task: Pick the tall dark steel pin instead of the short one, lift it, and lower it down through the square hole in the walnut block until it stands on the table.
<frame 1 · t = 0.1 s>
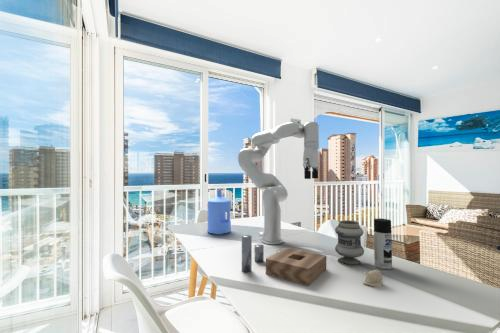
hand: (311, 178, 134), 37 cm above the table, tool pointing down, fingers open, 9 cm apart
apothecary jar: (349, 262, 114), on the table
hole block: (296, 271, 103), on the table
decorative ornament: (372, 285, 92), on the table
spray can: (383, 267, 109), on the table
water jug: (219, 232, 171), on the table
tall pin: (246, 270, 104), on the table
short pin: (259, 261, 115), on the table
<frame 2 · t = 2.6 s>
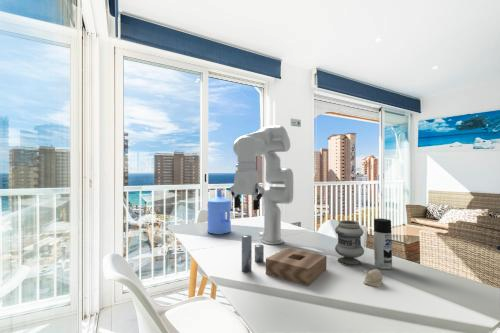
hand: (246, 208, 105), 25 cm above the table, tool pointing down, fingers open, 9 cm apart
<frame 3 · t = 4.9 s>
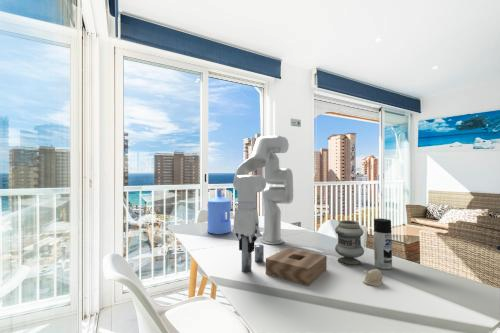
hand: (246, 250, 104), 8 cm above the table, tool pointing down, fingers closed on tall pin, 4 cm apart
tall pin: (246, 270, 104), on the table, touching gripper
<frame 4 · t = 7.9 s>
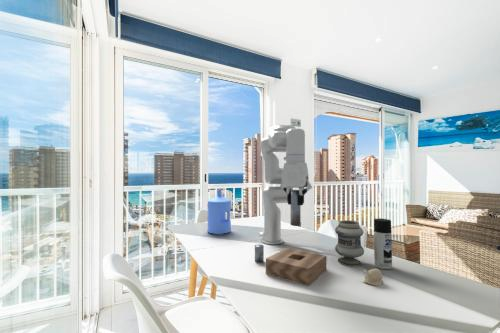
hand: (295, 204, 104), 27 cm above the table, tool pointing down, fingers closed on tall pin, 4 cm apart
tall pin: (295, 224, 103), point 19 cm above the table, touching gripper
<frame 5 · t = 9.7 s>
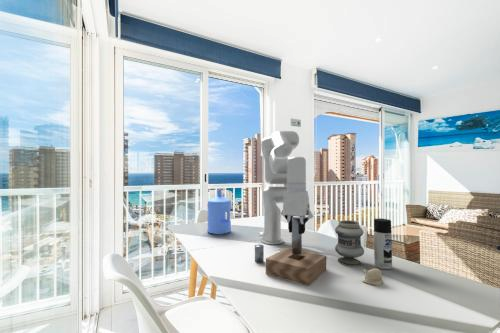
hand: (296, 232, 103), 16 cm above the table, tool pointing down, fingers closed on tall pin, 4 cm apart
tall pin: (296, 253, 103), point 8 cm above the table, touching gripper
when the fingers open (10 cm above the table, at t = 11.3 s): tall pin drops 1 cm, resting in hole block.
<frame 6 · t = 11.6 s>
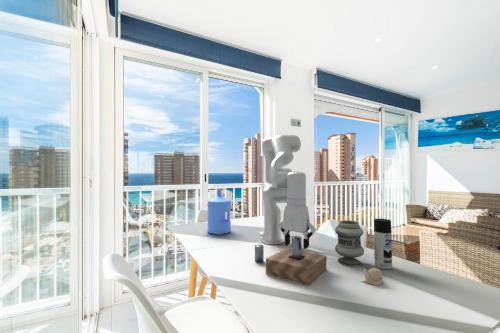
hand: (296, 246, 103), 10 cm above the table, tool pointing down, fingers open, 7 cm apart
tall pin: (296, 271, 103), resting in hole block
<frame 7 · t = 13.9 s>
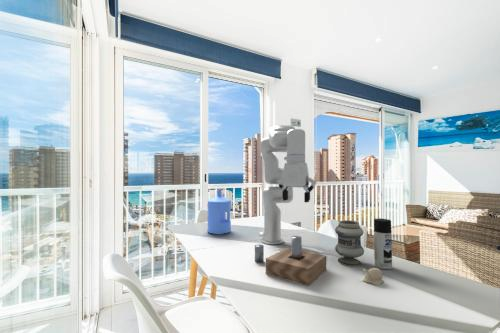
hand: (295, 201, 105), 28 cm above the table, tool pointing down, fingers open, 9 cm apart
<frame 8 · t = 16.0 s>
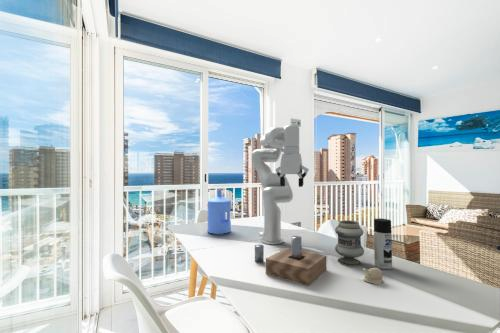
hand: (291, 186, 124), 33 cm above the table, tool pointing down, fingers open, 9 cm apart
at the end: tall pin 0.0 cm off-centre on the hole block, point 0.0 cm above the hole block's base; tall pin tilted 0°; short pin moved 0.0 cm from its start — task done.
